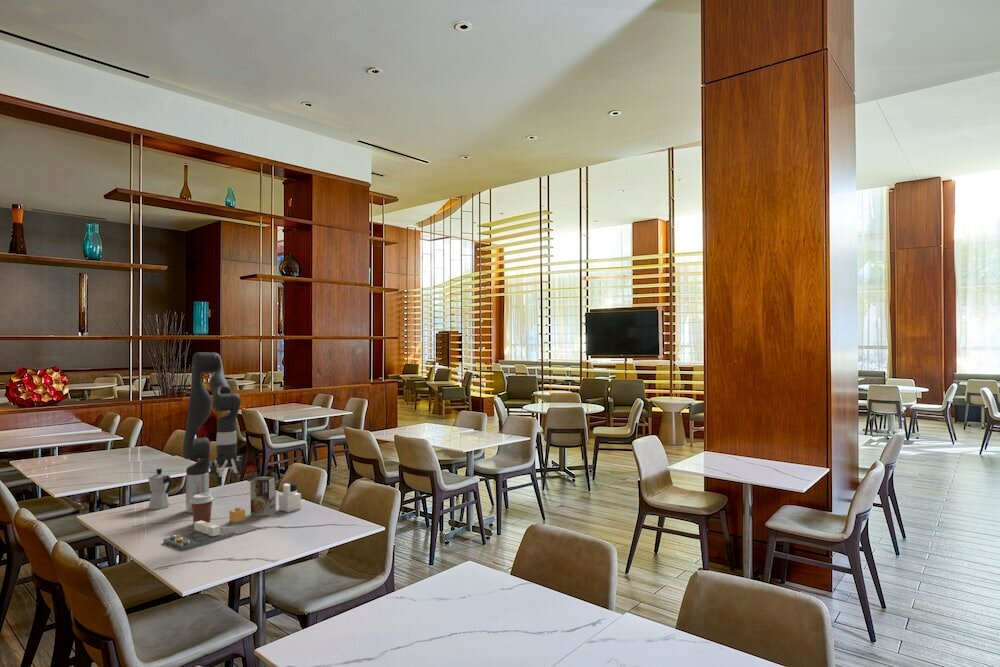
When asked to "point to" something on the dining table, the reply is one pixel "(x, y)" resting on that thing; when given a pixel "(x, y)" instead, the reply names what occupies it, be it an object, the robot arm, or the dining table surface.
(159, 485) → the coffee maker
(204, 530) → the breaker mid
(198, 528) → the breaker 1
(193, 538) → the dark grey flat slab
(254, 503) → the coffee box
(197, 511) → the coffee cup
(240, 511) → the lockout cap
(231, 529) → the lockout mat
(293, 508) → the medicine bottle
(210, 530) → the breaker
